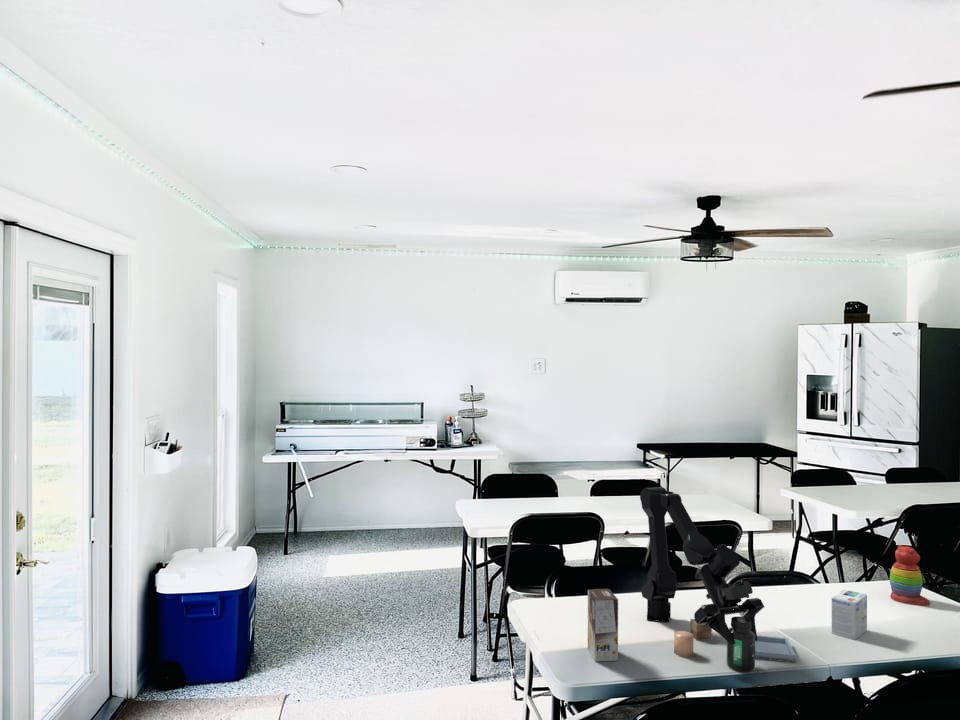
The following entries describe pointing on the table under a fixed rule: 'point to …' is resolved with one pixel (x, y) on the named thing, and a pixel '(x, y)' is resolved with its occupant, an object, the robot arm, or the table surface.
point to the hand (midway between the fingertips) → (744, 642)
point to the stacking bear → (907, 577)
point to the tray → (774, 648)
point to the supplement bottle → (741, 645)
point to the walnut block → (700, 631)
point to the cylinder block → (683, 643)
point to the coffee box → (603, 625)
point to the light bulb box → (849, 614)
